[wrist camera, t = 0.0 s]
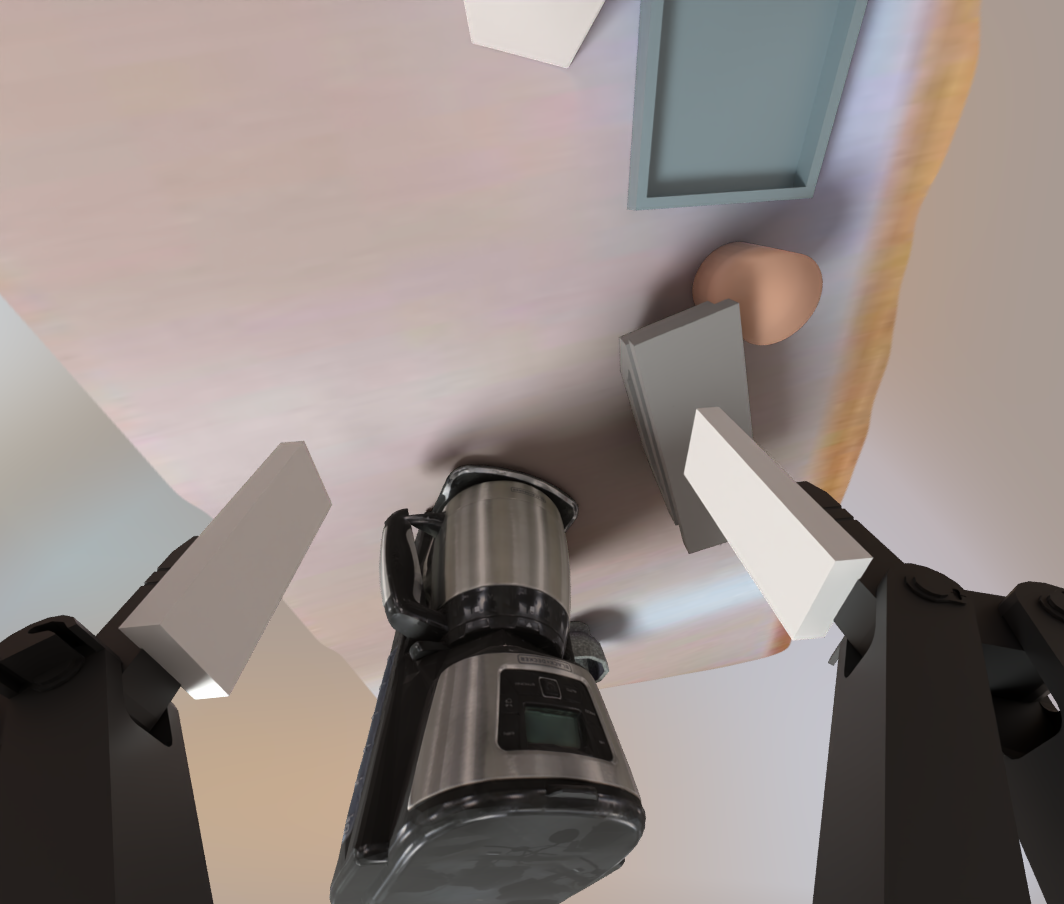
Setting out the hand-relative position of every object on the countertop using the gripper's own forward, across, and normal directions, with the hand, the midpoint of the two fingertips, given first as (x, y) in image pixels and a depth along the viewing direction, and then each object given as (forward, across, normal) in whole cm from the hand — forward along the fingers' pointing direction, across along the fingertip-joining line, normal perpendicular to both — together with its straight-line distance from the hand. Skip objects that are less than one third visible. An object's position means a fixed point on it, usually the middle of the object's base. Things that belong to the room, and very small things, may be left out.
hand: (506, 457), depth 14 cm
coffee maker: (+28, -8, -33) cm, 44 cm away
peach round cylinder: (+28, +22, -1) cm, 35 cm away
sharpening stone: (+28, +17, -13) cm, 36 cm away
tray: (+28, +19, +13) cm, 36 cm away
